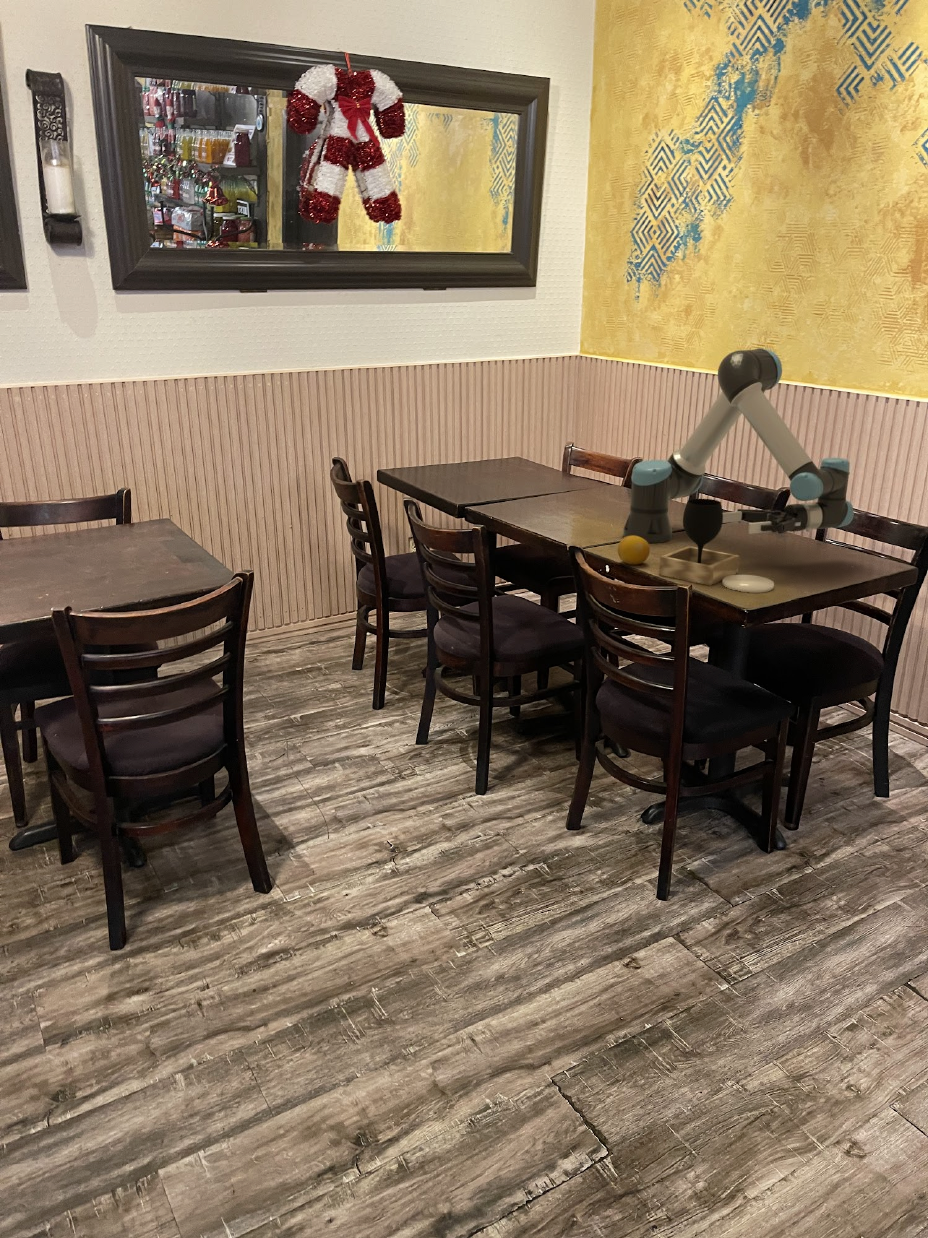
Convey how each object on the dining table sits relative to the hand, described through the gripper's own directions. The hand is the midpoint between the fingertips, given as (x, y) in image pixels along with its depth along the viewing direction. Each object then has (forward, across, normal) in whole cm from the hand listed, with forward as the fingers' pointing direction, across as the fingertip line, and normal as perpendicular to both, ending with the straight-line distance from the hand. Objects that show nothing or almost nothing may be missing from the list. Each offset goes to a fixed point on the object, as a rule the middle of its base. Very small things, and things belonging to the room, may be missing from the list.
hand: (734, 523), depth 258 cm
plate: (+3, -13, -14) cm, 19 cm away
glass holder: (+10, 0, -13) cm, 17 cm away
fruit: (+22, +15, -14) cm, 30 cm away
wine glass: (+10, 0, -14) cm, 17 cm away
